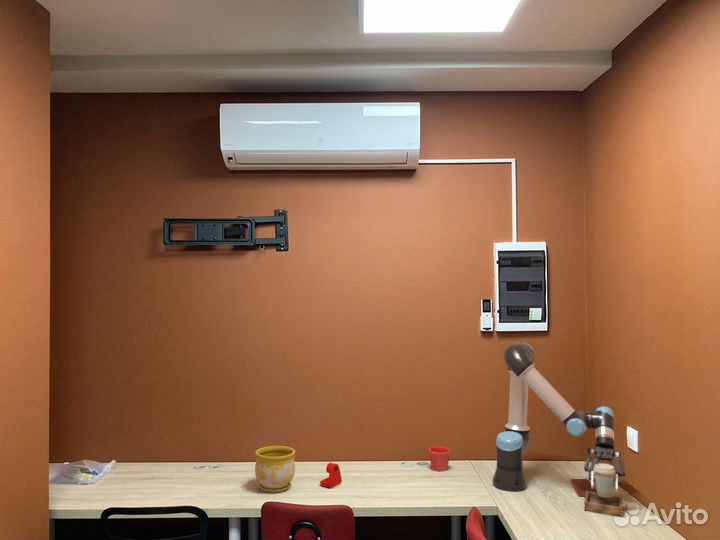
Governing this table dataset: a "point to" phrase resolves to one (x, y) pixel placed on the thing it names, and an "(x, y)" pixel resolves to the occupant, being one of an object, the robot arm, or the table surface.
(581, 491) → the wooden tablet
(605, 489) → the coffee cup
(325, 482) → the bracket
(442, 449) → the flower pot
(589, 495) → the wood rimmed frame
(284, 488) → the flowerpot
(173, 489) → the table surface
